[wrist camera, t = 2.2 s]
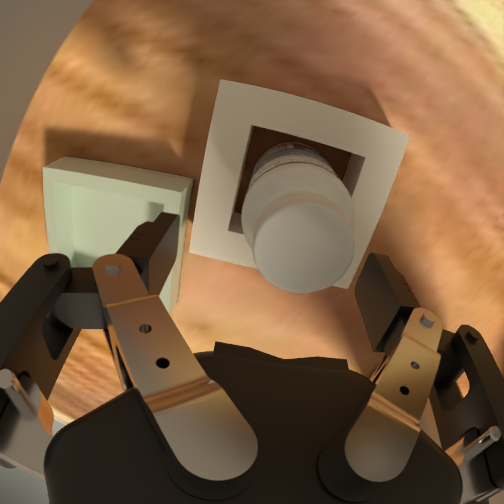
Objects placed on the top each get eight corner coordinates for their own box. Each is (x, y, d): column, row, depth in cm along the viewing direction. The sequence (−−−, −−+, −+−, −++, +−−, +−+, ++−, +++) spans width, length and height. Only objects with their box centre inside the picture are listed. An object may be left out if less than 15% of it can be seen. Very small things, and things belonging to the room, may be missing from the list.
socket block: (392, 128, 17) (409, 135, 15) (340, 266, 23) (347, 289, 20) (228, 81, 17) (220, 79, 14) (199, 232, 22) (188, 252, 20)
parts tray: (193, 178, 20) (181, 192, 18) (177, 300, 26) (168, 323, 23) (65, 156, 20) (42, 166, 17) (71, 269, 25) (55, 287, 23)
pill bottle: (325, 220, 21) (354, 311, 13) (249, 213, 21) (231, 302, 13) (337, 145, 18) (386, 194, 10) (254, 136, 19) (234, 177, 10)
